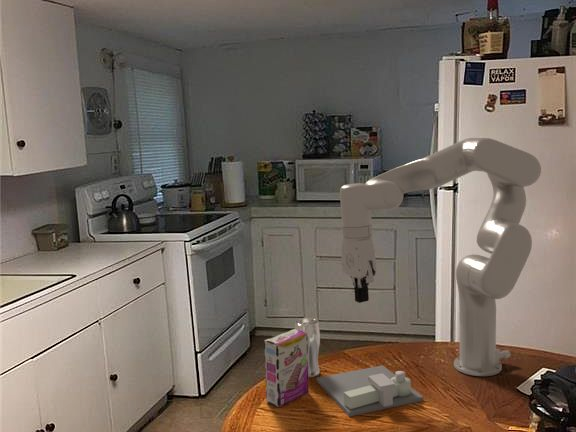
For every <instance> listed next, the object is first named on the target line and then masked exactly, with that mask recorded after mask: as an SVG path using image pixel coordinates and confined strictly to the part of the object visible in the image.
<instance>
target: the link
mask: <svg viewBox="0 0 576 432" xmlns="http://www.w3.org/2000/svg"><path fill="white" fill-rule="evenodd" d="M394 374H395V376H396V377H393V378H391V379H390V380H391V381H393V382H394V383H395V389H393V397H396V396H408V395H410V394H411V388H412V382H411V378H409V377H406V372H405V371H404V370H397V371H395V373H394ZM378 401H379V390H378V389H377V388H376V387H375V386H374V385H369V386H366V387H362V388H358V389H354V390H350V391H347V392H344V404H345V405H346V406H347V407H348V408H349V409H353V408H357V407H360V406H364V405H367V404H371V403H375V402H378Z"/></svg>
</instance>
